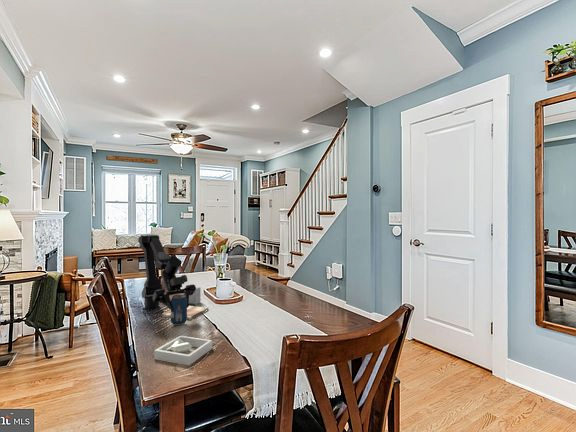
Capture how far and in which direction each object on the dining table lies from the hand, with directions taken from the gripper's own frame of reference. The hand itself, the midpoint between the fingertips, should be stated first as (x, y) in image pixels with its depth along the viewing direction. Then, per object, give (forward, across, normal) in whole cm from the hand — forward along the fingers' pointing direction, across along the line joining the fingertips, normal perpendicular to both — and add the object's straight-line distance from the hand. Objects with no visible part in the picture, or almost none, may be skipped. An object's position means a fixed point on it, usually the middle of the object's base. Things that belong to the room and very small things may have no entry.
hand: (180, 308), depth 141 cm
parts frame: (+25, -11, -15) cm, 31 cm away
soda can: (+4, 0, +6) cm, 7 cm away
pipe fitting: (+24, -13, -14) cm, 31 cm away
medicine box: (-15, +21, +27) cm, 37 cm away
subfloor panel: (-5, +10, +16) cm, 19 cm away
